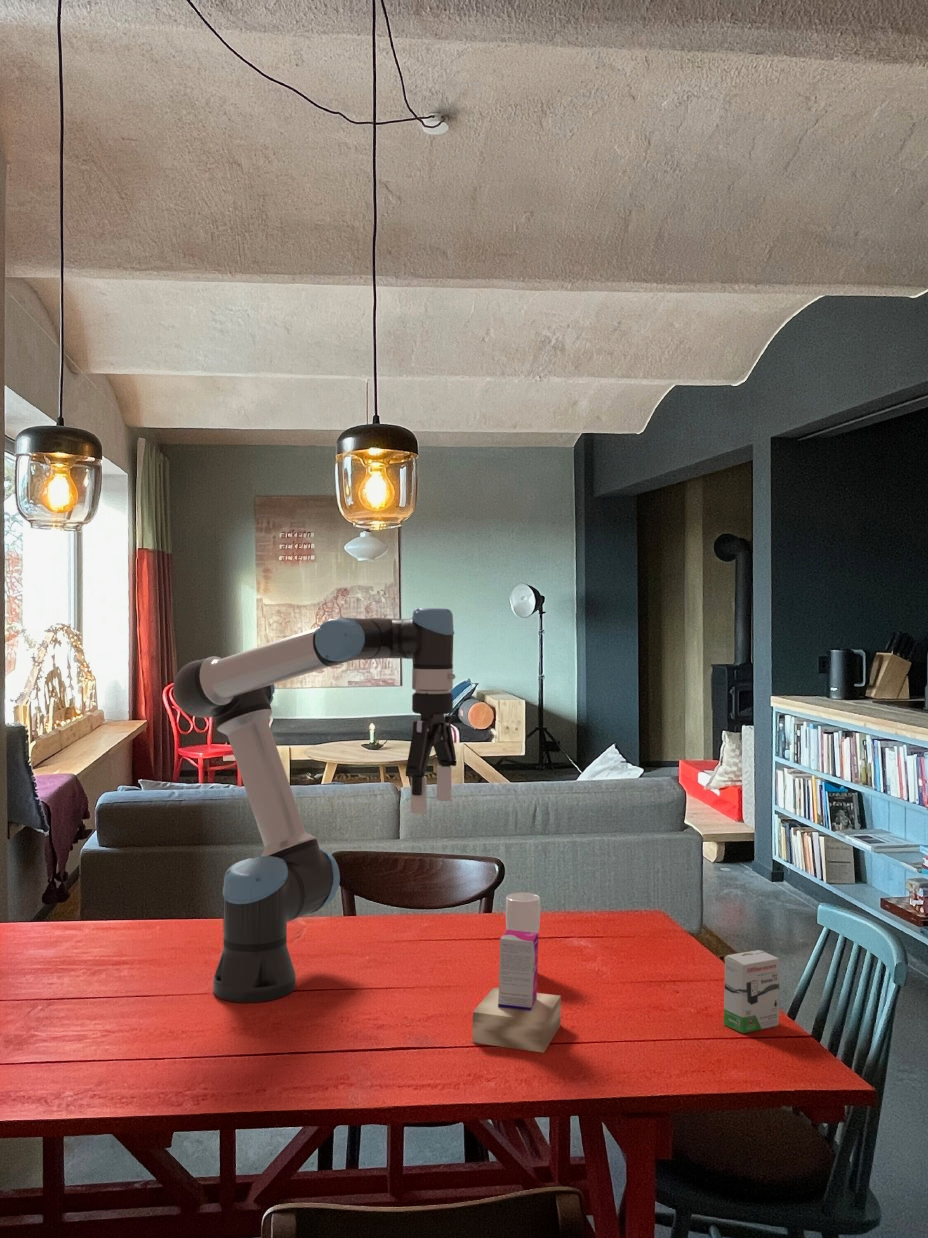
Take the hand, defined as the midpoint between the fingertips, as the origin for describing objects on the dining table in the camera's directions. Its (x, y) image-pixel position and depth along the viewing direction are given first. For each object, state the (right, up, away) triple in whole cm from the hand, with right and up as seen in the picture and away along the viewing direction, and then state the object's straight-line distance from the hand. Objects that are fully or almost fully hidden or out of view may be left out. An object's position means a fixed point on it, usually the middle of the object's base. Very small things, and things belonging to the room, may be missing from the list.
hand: (431, 807), depth 192 cm
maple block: (+15, -35, -18) cm, 42 cm away
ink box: (+55, -35, -13) cm, 67 cm away
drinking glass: (+17, -35, +12) cm, 41 cm away
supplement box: (+15, -30, -18) cm, 38 cm away
